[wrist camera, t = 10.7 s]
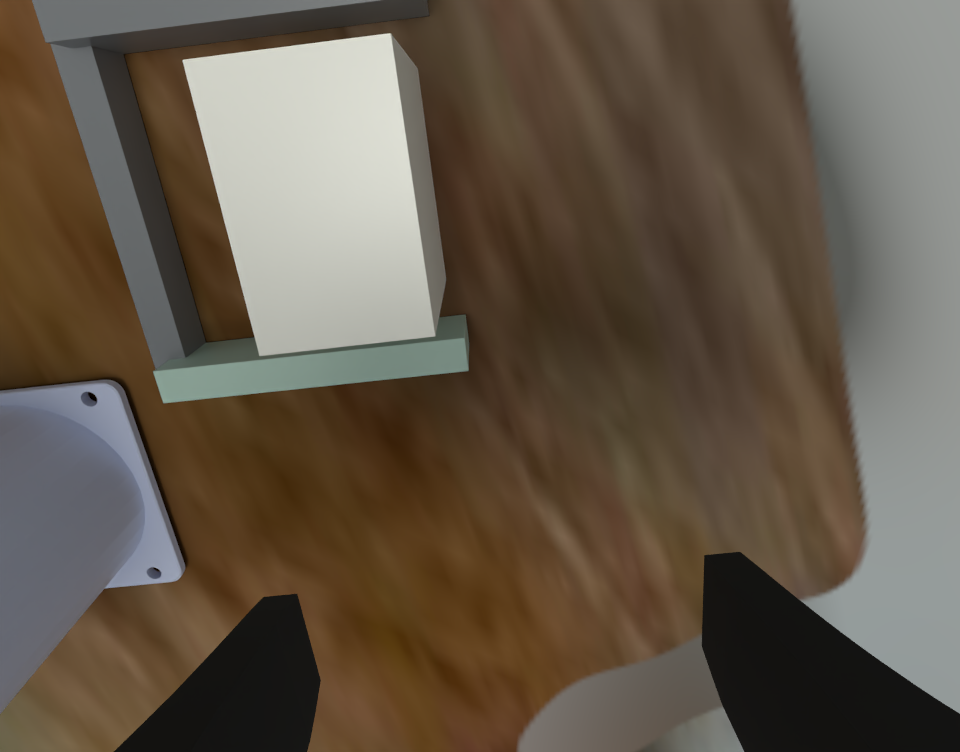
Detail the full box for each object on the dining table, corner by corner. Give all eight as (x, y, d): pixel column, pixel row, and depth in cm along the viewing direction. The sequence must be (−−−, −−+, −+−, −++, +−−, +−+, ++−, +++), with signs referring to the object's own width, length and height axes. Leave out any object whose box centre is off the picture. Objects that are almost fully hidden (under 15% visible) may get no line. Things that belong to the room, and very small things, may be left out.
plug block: (321, 293, 19) (259, 356, 14) (277, 86, 17) (182, 59, 12) (446, 279, 19) (435, 336, 14) (417, 68, 17) (391, 33, 11)
